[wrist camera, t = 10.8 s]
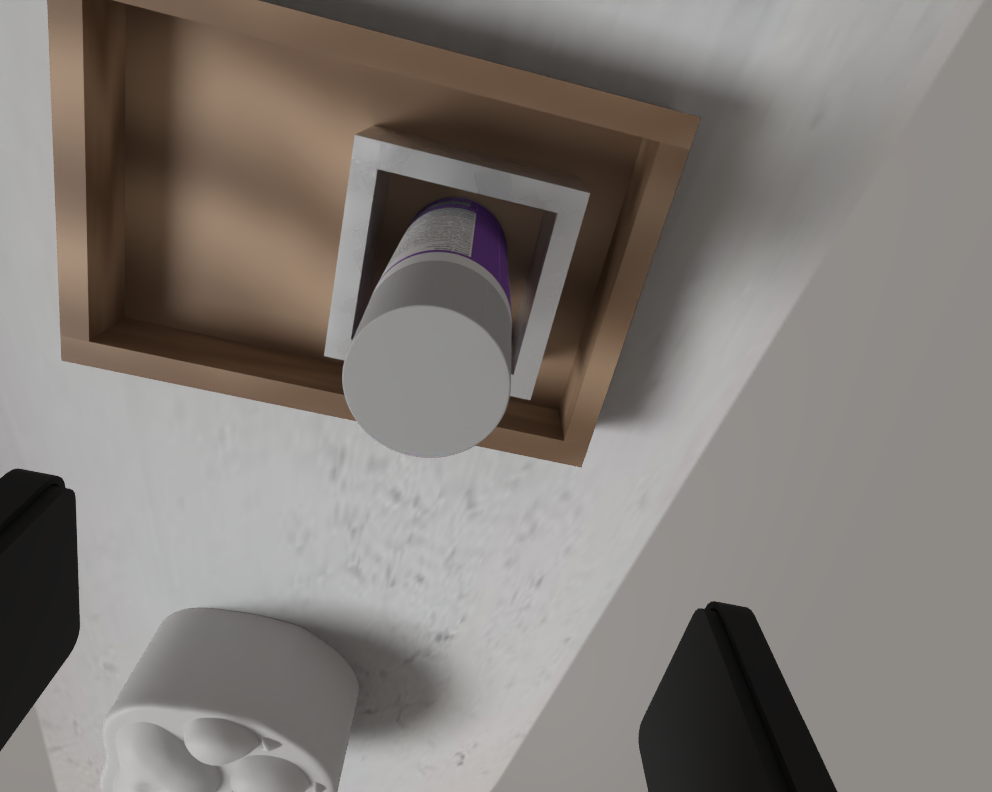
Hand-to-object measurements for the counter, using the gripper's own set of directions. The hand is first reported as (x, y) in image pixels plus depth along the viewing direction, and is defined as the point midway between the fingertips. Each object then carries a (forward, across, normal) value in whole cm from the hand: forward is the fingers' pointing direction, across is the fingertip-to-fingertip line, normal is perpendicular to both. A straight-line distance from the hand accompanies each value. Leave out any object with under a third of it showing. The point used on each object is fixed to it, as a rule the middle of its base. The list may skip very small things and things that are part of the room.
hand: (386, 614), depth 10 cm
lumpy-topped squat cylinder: (+24, +7, +31) cm, 40 cm away
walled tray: (+24, +4, 0) cm, 25 cm away
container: (+24, 0, 0) cm, 24 cm away
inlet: (+24, 0, 0) cm, 24 cm away
